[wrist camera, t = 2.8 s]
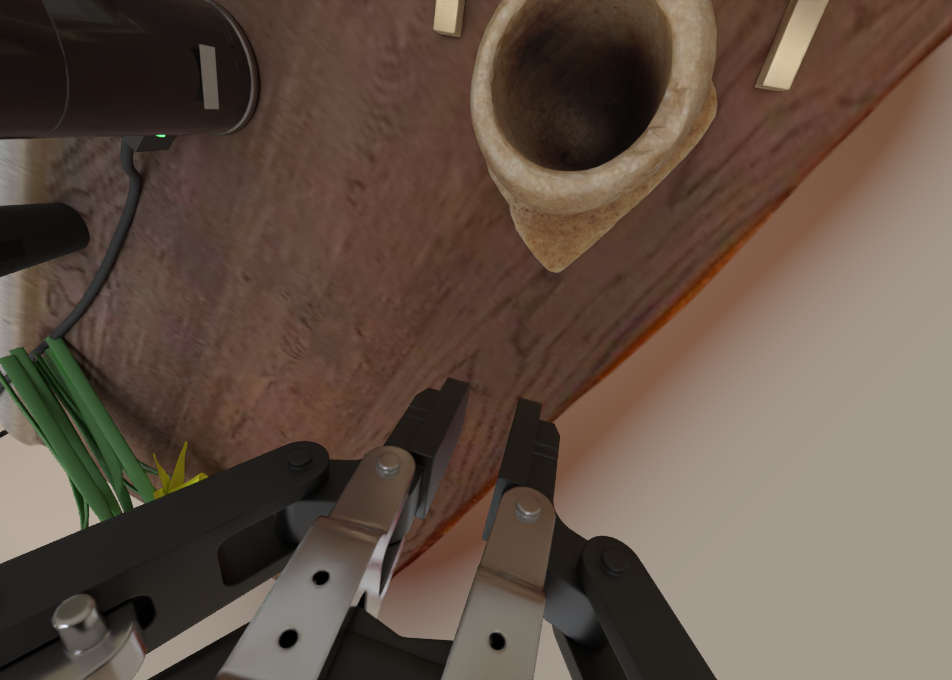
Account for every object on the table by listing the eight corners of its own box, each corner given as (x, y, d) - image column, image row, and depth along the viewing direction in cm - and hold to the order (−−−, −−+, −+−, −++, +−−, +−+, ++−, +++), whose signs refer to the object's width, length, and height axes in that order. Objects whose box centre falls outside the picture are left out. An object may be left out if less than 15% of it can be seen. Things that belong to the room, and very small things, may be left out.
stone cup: (611, -43, 26) (631, -215, 13) (737, 110, 27) (869, 97, 14) (451, 158, 33) (356, 181, 20) (558, 269, 34) (537, 357, 21)
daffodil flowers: (87, 296, 50) (250, 553, 48) (126, 337, 63) (256, 541, 61) (-120, 369, 41) (69, 684, 40) (-27, 400, 54) (120, 639, 52)
